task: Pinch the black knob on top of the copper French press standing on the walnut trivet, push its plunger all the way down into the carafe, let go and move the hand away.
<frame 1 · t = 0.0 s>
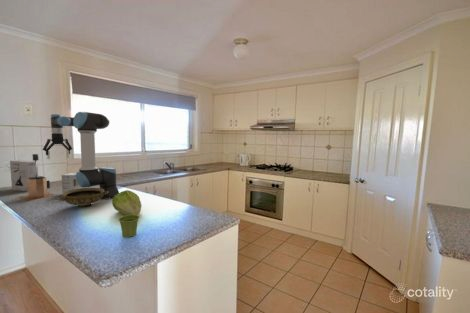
hand: (58, 158, 189), 28 cm above the worktop, fingers open, 13 cm apart
lettuce: (129, 214, 140), on the worktop
plant pot: (129, 235, 111), on the worktop
cereal box: (25, 189, 193), on the worktop
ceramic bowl: (84, 206, 154), on the worktop
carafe: (37, 196, 169), resting on trivet
trivet: (37, 197, 170), on the worktop
supplement box: (72, 194, 181), on the worktop
plunger: (36, 169, 168), point 22 cm above the worktop, slide at 0.0 cm
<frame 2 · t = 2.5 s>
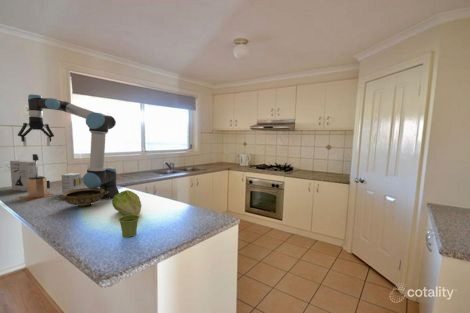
hand: (37, 146, 163), 40 cm above the worktop, fingers open, 13 cm apart
nothing on the worktop moved.
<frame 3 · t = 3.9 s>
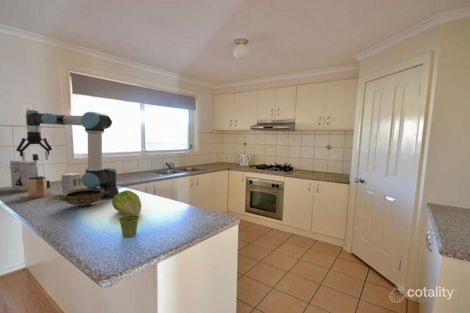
hand: (35, 160, 167), 29 cm above the worktop, fingers open, 13 cm apart
nothing on the worktop moved.
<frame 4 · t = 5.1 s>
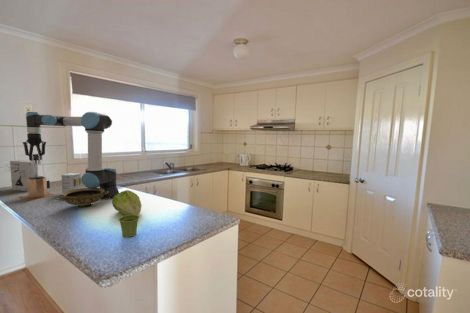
hand: (35, 164, 167), 26 cm above the worktop, fingers closed on plunger, 3 cm apart
plunger: (36, 169, 168), point 22 cm above the worktop, slide at 0.0 cm, touching gripper
everything else where it was.
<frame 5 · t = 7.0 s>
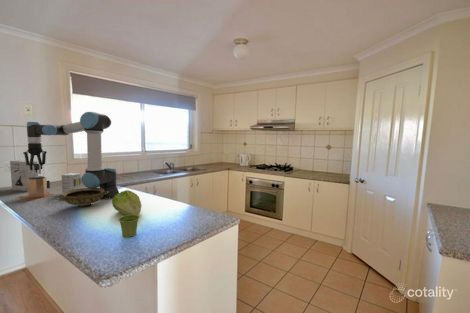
hand: (36, 174, 168), 18 cm above the worktop, fingers closed on plunger, 3 cm apart
plunger: (36, 179, 168), point 14 cm above the worktop, slide at 7.2 cm, touching gripper
everything else where it was.
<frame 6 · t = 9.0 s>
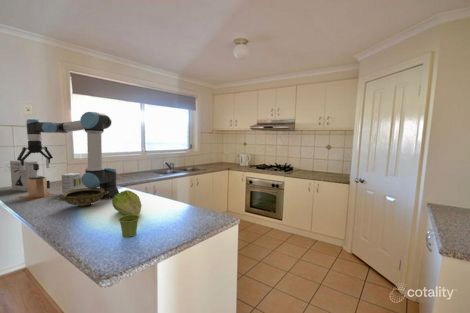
hand: (36, 168, 168), 22 cm above the worktop, fingers open, 13 cm apart
plunger: (36, 179, 168), point 14 cm above the worktop, slide at 7.1 cm
everything else where it was.
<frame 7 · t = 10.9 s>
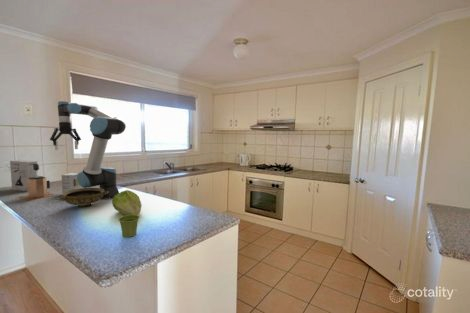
hand: (66, 149, 174), 37 cm above the worktop, fingers open, 13 cm apart
nothing on the worktop moved.
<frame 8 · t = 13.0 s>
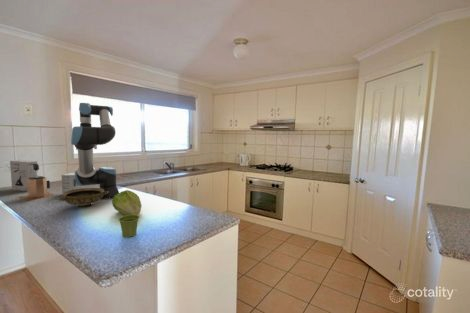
hand: (86, 149, 180), 37 cm above the worktop, fingers open, 13 cm apart
nothing on the worktop moved.
at the end: plunger slide at 7.1 cm; the gripper is holding nothing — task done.
